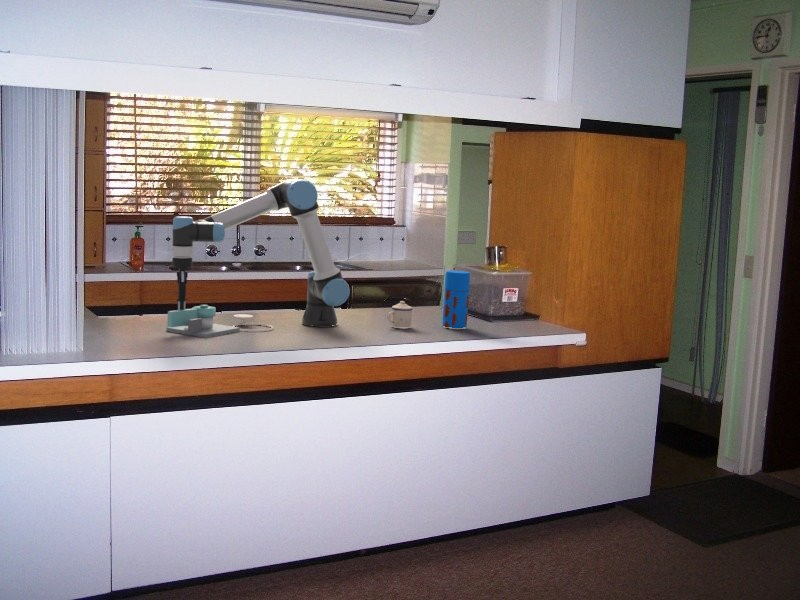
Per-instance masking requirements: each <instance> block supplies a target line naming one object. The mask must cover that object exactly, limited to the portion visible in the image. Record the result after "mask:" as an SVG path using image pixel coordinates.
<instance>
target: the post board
mask: <svg viewBox="0 0 800 600" xmlns="http://www.w3.org/2000/svg"><path fill="white" fill-rule="evenodd" d="M213 322H214V317H197V318H196V319H190V320H188V325H186V326H179V327H166V332H168V331H170V332H169V333H174V332H175V333H176V334H180V333H181V334H182V335H186V336H192V337H199V338H205V339H207V338H212V337H218V336H222V335H221V334H224V335H226V334H225V333H229V334H231V333H230V332H234V333H237V332H236V331H239V332H241V331H240V329H241V327H240V326H236V327H232V326H233V325H231V326H230V325H225V324H220V323H213ZM217 335H218V336H217Z"/></svg>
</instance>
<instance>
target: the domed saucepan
mask: <svg viewBox="0 0 800 600" xmlns="http://www.w3.org/2000/svg"><path fill="white" fill-rule="evenodd" d="M216 314H217V313H216V307H215V306H210V305H208V304H200V305H197V306H196V305H195V306H193V307H192V308H185V309H184V310H178V309H176V310H167V327H179V326H186V325H188V320H190V319H196V318H197V317H213V318H214V317H216V316H217V315H216ZM167 327H166V328H167Z"/></svg>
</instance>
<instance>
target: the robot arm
mask: <svg viewBox="0 0 800 600" xmlns="http://www.w3.org/2000/svg"><path fill="white" fill-rule="evenodd" d="M318 195H319V194H318V190H317V188H316V186H315V185H314V184H313V183H312V182H311V181H309V180H308V179H307V180H306V179H305V178H289V179H286V180H283V181H282V182H280V183H277V184H276V185H274V186H271V187H269V188H266V191H265V192H264V193H261V194H259V195H256V196H255V197H252V198H249V199H247V200H245V201H243V202H241V203H238V204H235V205H233V206H231V207H229V208H227V209H224V210H222V211H219V212H216V213H215V214H212V215H210V216H207V217H204V218H203V219H198V220H195V221H194V218H193V217H191V216H182V215H181V216H178V215H177V216H174V218H173V219H172V247H171V248H170V250H171V251H172V260H171V261H172V262H171V266H172V268H174V269H175V268H178V271H176V277H177V279H176V282H177V288H178V289H177V290H178V292H177V299H176V302H177V310H184V309H186V301H187V300H188V299H187V298H186V295H187V294H186V293H187V283H188V274H189V272H188V271H186V269H191V268H193V258H192V257H193V256H194V255H193V254H194V252H193V249H194V248H193V247H194V244H193V243H194V242H198V243H199V242H203V243H205V242H206V243H208V242H209V243H222V242H223V241H224V240H225V233H226V230H229V229H231V228H234V227H235V226H238V225H240V224H243V223H246V222H247V221H250V220H252V219H255V218H257V217H260V216H262V215H264V214H266V213H269V212H271V211H273V210H274V211H279V210H282V209H285V208H288V210H289V212H290V216H291V217H292V218H294V219H296V221H297V224H298V227H299V230H300V233H301V236H302V238H303V241H304V245H305V247H306V250H307V254H308V257H309V260H310V262H311V265H312V268H313V270H314V271H310V272H308V275H307V287H306V288H307V292H306V294H307V295H306V307H305V310H304V312H303V315H302V319H301V324H302V323H303V324H306V325H305V326H307V325H313V326H312V327H314V326H332V325H336V324H337V325H338V317H337V314H336V311H335V307H338V306H341V305H343V304H344V303H345V302H346V301H347V300H348V299H349V297H350V293H351V292H350V291H351V289H350V286H349V284H348V282H347V281H346V280H345V279H344V278H343V275H342V272H341V269H340V268H338V267H336V265H335V263H334V260H333V256H332V253H331V251H330V248H329V244H328V243H327V242H328V241H327V239H326V236H325V233H324V230H323V227H322V224H321V221H320V219H319V215H318V210H319V208H320V207H319V204H318ZM303 324H302V325H303ZM337 325H336V326H337ZM332 327H333V326H332Z"/></svg>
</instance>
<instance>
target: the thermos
mask: <svg viewBox="0 0 800 600" xmlns="http://www.w3.org/2000/svg"><path fill="white" fill-rule="evenodd" d="M444 275H445V276H444V287H443V288H444V290H443V291H444V292H443V306H442V327H443V326H445V327H452V328H463V327H466V328H467V324H468V323H467V322H468V310H469V299H470V298H469V295H470V281H471V280H470V279H471V274H470V272H469V271H465V270H464V271H463V270H445V274H444Z"/></svg>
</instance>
